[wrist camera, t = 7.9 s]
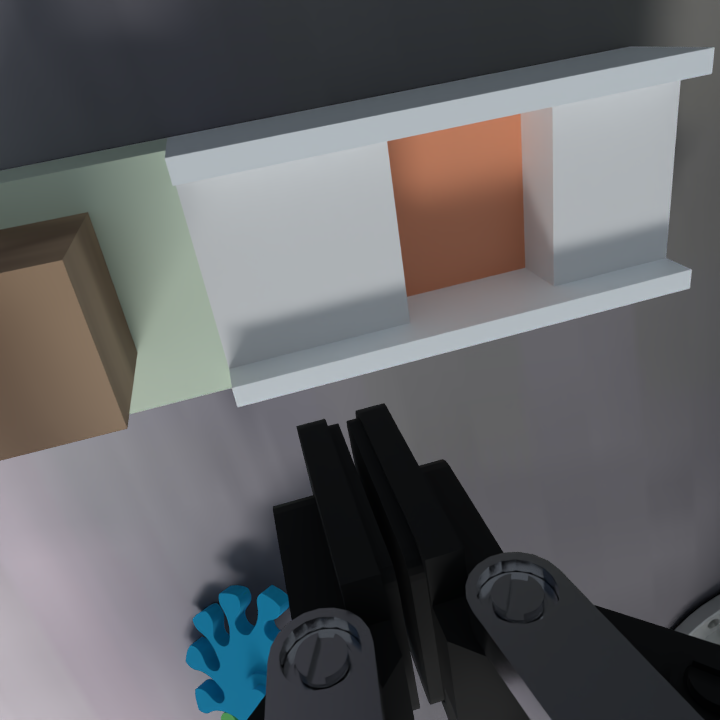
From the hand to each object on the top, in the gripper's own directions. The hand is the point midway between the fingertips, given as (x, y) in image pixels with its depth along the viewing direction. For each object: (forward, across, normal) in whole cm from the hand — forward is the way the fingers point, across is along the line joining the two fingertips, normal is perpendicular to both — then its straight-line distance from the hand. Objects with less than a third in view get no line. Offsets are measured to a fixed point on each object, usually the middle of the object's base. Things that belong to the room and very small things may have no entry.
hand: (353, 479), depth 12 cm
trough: (+15, -3, -1) cm, 15 cm away
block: (+12, +8, -1) cm, 14 cm away
